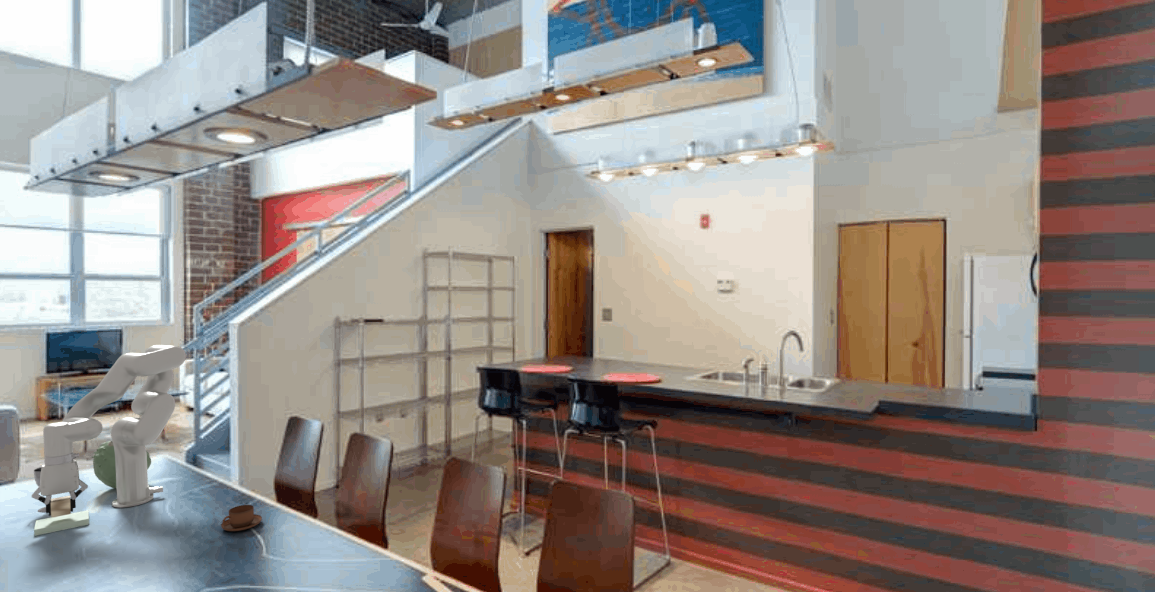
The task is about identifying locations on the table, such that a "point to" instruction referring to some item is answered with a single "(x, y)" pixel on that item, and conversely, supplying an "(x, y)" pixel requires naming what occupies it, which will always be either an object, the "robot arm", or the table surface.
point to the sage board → (61, 522)
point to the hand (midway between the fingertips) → (61, 512)
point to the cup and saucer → (241, 518)
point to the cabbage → (108, 464)
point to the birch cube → (60, 506)
